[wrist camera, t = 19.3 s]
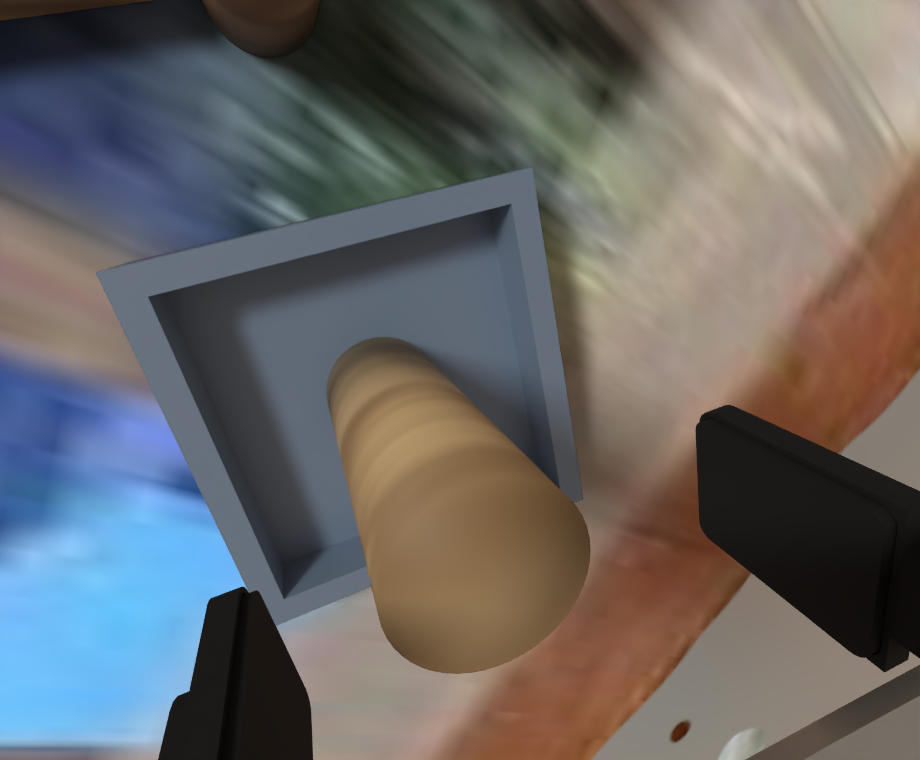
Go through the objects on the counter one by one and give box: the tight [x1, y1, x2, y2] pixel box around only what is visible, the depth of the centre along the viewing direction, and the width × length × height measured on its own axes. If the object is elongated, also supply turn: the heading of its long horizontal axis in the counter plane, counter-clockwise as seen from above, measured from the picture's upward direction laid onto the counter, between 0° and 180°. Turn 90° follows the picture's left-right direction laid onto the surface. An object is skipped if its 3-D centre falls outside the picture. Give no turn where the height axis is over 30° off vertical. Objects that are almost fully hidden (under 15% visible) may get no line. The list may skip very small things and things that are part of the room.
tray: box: [96, 168, 583, 625], centre depth 20 cm, size 14×14×3 cm
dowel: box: [326, 337, 590, 674], centre depth 15 cm, size 4×4×12 cm
